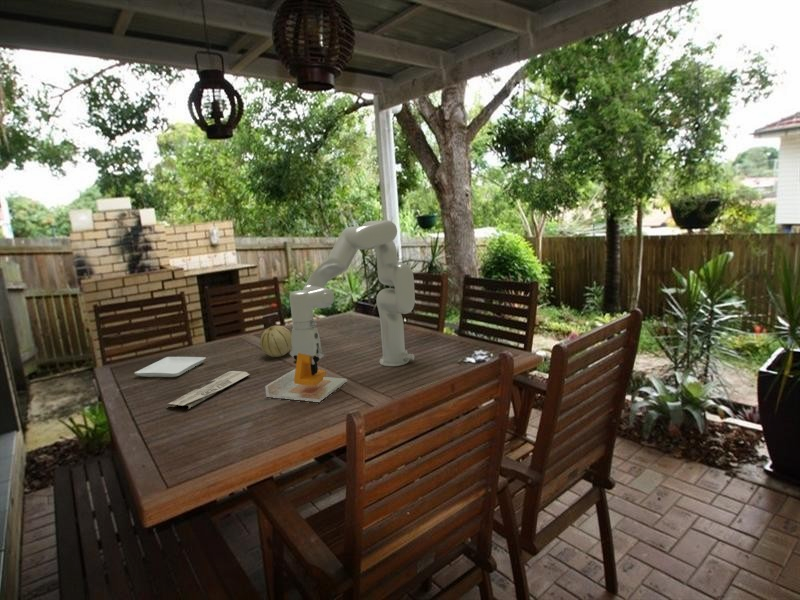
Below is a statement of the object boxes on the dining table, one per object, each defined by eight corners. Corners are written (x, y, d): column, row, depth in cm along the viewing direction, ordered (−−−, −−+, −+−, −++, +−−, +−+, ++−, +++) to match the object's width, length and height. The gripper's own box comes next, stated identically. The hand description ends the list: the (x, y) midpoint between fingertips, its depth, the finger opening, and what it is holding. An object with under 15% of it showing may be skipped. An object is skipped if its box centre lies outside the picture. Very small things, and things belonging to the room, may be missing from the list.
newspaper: (227, 375, 192) (226, 367, 192) (253, 377, 189) (252, 368, 188) (162, 411, 159) (161, 401, 159) (191, 413, 156) (190, 403, 155)
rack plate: (347, 382, 174) (346, 371, 173) (319, 403, 155) (318, 391, 155) (298, 378, 182) (296, 367, 181) (266, 398, 164) (265, 386, 163)
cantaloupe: (298, 351, 220) (295, 320, 217) (288, 360, 206) (284, 328, 203) (269, 352, 222) (265, 322, 219) (257, 361, 207) (252, 329, 205)
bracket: (312, 388, 162) (311, 356, 159) (294, 385, 164) (293, 353, 161) (326, 377, 172) (325, 346, 169) (309, 374, 174) (308, 344, 171)
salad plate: (177, 380, 191) (176, 372, 190) (134, 379, 195) (132, 372, 194) (208, 363, 211) (207, 356, 210) (168, 363, 215) (166, 356, 215)
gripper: (329, 322, 164) (334, 371, 168) (289, 321, 170) (295, 368, 174) (318, 328, 157) (323, 378, 161) (277, 326, 163) (283, 375, 167)
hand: (308, 372), depth 167 cm, fingers closed on bracket, 4 cm apart
